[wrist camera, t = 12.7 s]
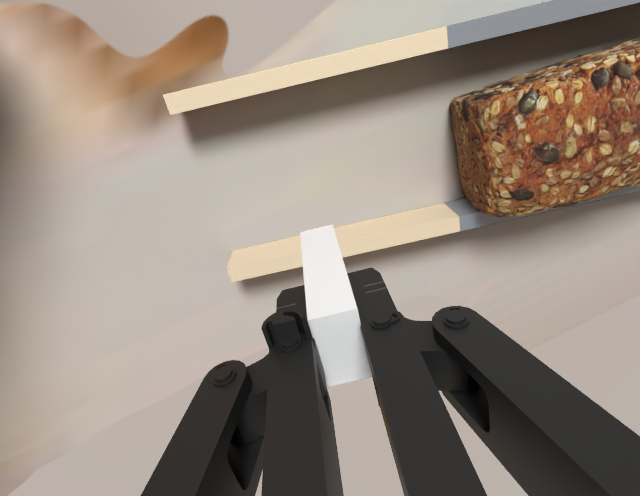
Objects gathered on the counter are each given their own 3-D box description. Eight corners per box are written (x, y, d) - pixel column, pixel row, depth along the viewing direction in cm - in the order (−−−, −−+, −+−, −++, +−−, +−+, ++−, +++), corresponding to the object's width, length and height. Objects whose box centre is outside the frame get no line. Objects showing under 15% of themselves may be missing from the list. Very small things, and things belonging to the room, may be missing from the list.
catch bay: (177, 91, 33) (162, 94, 29) (712, -38, 32) (766, -52, 28) (237, 263, 40) (231, 282, 37) (675, 164, 39) (714, 174, 35)
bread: (650, 26, 33) (782, 10, 24) (642, 145, 38) (751, 169, 29) (440, 92, 35) (492, 100, 26) (456, 200, 39) (505, 240, 30)
